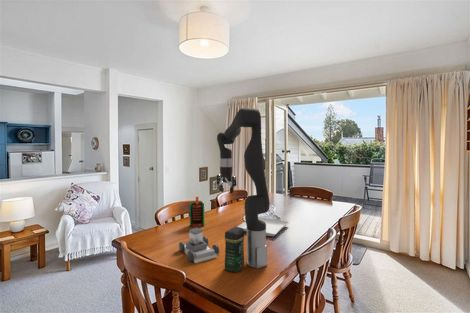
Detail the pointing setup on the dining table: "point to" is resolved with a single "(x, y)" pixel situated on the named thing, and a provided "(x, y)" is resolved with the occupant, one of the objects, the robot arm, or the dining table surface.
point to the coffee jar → (234, 249)
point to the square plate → (269, 225)
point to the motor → (197, 214)
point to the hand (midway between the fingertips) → (226, 192)
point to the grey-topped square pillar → (195, 236)
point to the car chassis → (199, 251)
